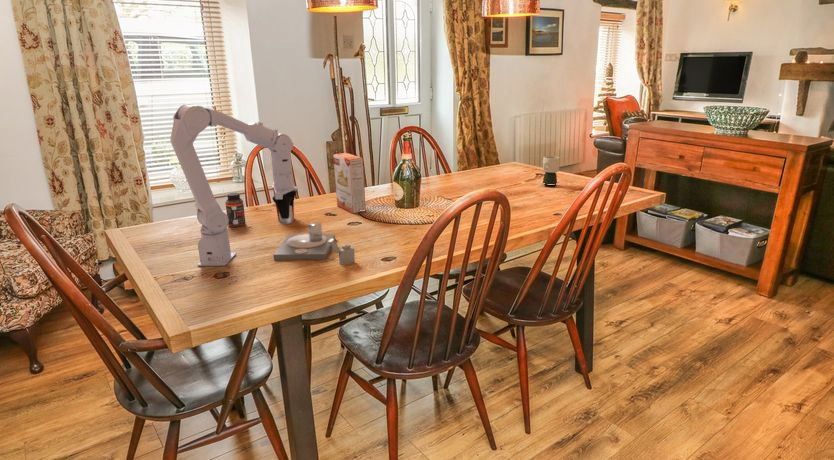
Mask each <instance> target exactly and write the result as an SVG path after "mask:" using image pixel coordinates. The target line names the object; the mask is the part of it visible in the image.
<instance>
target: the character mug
mask: <svg viewBox="0 0 834 460" xmlns="http://www.w3.org/2000/svg"><path fill="white" fill-rule="evenodd" d="M560 158H561V157H560V156H556V155H545V156H543V158H542V171H543V172H544V175H543V179H542V184H543V183H545V184H556V183H557V184H558V178H557V173H558V172H559V170H560V161H561V160H560Z"/></svg>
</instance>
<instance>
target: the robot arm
mask: <svg viewBox="0 0 834 460" xmlns="http://www.w3.org/2000/svg"><path fill="white" fill-rule="evenodd" d="M172 117H173V120H172V121H173V123H172V124H173V125H172V128H171V135H170V144H171V146H172V148H173V151H174V153H175V155H176V157H177V160H178V162H179V165H180V167H181V170H182V173H183V175H184V177H185V179H186V182H187V185H188V186H189V189H190V190H191V194H192V195H193V198H194V201H195V205H194V206H195V208H196V211H197V212H196V219H197V221H198V222H199V223H200V224H201V228H200V234H201V237H200V239H199V240H198V244H197V250H198V255H199V262H198V263H197V266H198V267H210V266H211V267H213V266H215V267H216V266H217V267H218V266H219V267H224V266H226V265H228V263H229V262H230V261H231V260H233V258H234V257H235V256H236V255H237V253H236V252H232V251H231V244H230V238H229V228H228V226H229V225H228V223H229V219H228V216H227V213H226V212H224V211H223V209H222V208H221V205H220V204H219V202H218V201H217V200H216V198H215V196H214V193H213V191H212V188H211V186H210V183H209V181H208V178H207V176H206V173H205V171H204V168H203V166H202V164H201V161H200V158H199V156H198V154H197V152H196V149H195V146H194V142H195V141H196V139H197V137H198V136H199V134H200V133H202V131H204V130H205V129H207V127H216V126H221V127H222V128H226V129H228V130H231V131H234V132H237V133H239V134H241V135H243V136H244V138H245V140H246V141H247V142H250V143H252V144H255V145H257V146H260V147H262V148H265V149H268V150H269V151H270V156H271V157H270V158H271V165H272V169H271V170H272V177H273V182H274V191H275V196H274V195H273V196H272V201H273V202H274V204H275V206H276V205H277V207H278V210H279V213H280V216H281V218H282V219H288V218H289V208H290V205H292V211H293V203H295V197H296V195H297V192H298V191H297V190H298V189H299V188H298V186H295V185H294V186H293V184H294V177H293V167H292V166H293V165H292V155H291V152H292V150H293V147H294V142H293V141H292V138H291V137H290V136H289V135H287V134H285V133H281V132H278V129H276V128H273V129H272V128H270V127H267V126H265V125H264V122H261V121H257V122H255V121H253V122H251V123H245V122H244V121H242V120H239V119H238V118H235V117H233V116H230V115H228V114H226V113H224V112H222V111H219V110H216V109H212V108H207V107H204V106H202V105H194V104H192V103H184V104H182V105H180V106H179V108H178V109H177V110H176V111H175V113H174V115H173V116H172ZM274 191H273V192H274Z"/></svg>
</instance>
